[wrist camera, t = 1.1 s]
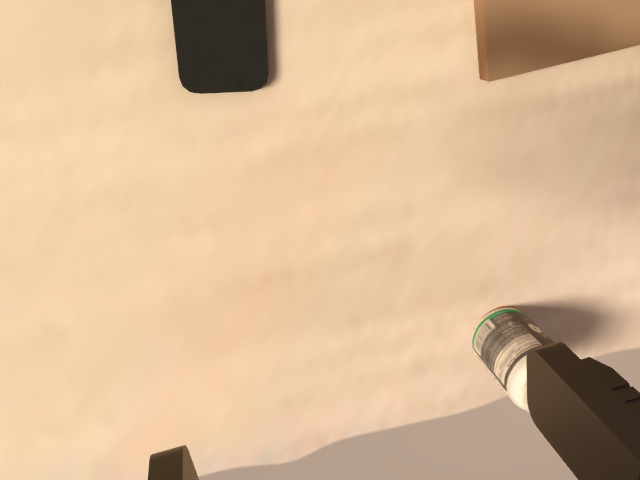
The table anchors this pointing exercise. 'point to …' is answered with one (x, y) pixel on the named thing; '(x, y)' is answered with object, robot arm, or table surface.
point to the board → (550, 32)
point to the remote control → (220, 44)
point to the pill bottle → (508, 349)
